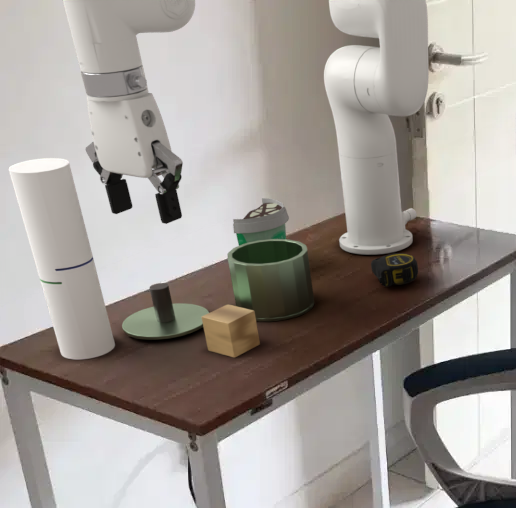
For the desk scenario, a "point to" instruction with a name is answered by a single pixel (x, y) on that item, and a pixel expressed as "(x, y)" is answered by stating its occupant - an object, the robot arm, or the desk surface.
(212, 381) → the desk surface
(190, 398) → the desk surface
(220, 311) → the block
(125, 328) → the lid
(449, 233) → the desk surface
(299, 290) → the tin
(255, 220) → the food container
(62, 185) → the cylindrical container
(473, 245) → the desk surface
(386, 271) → the tape measure
